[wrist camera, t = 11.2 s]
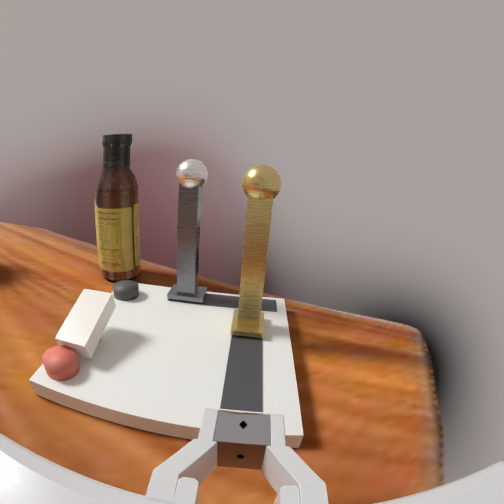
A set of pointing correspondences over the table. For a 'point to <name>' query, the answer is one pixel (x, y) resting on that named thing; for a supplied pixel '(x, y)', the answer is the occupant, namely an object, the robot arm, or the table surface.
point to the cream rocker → (86, 322)
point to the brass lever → (255, 249)
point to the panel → (177, 365)
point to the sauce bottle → (117, 211)
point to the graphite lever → (189, 231)
